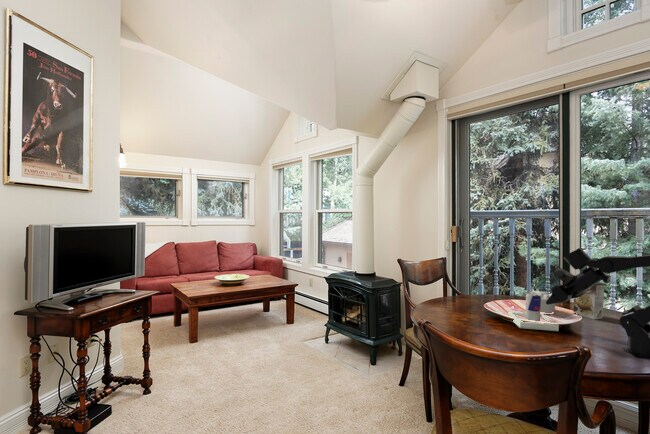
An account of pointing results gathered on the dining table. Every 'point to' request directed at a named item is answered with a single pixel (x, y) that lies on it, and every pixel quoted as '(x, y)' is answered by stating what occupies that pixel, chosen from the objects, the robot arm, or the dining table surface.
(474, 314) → the dining table surface
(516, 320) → the tray
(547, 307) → the lumpy-topped squat cylinder
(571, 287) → the robot arm
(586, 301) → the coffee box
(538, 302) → the energy drink
